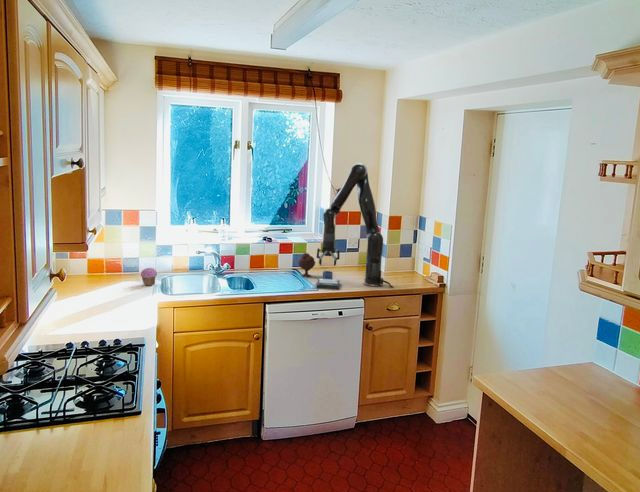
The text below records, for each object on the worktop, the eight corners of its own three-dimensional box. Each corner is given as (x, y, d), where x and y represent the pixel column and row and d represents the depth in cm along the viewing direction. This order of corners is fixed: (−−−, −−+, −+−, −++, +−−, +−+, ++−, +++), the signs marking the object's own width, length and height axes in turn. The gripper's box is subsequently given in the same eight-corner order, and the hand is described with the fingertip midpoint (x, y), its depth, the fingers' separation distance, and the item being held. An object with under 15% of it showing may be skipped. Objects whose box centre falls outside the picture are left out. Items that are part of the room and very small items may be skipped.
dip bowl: (332, 279, 296) (332, 271, 296) (332, 282, 290) (332, 273, 289) (322, 278, 297) (323, 270, 296) (322, 281, 291) (322, 273, 290)
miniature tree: (295, 277, 299) (296, 254, 297) (301, 273, 309) (301, 251, 307) (311, 278, 296) (312, 255, 294) (316, 275, 306) (317, 252, 304)
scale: (339, 283, 286) (339, 279, 286) (338, 289, 274) (338, 284, 273) (318, 282, 288) (318, 278, 287) (316, 288, 275) (316, 283, 274)
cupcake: (160, 284, 272) (159, 267, 271) (150, 287, 264) (150, 270, 263) (147, 282, 275) (147, 265, 274) (137, 285, 267) (137, 268, 266)
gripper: (317, 240, 287) (315, 265, 289) (340, 241, 286) (338, 267, 288) (317, 238, 294) (316, 263, 296) (340, 239, 293) (339, 264, 295)
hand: (327, 265), depth 292 cm, fingers open, 8 cm apart
